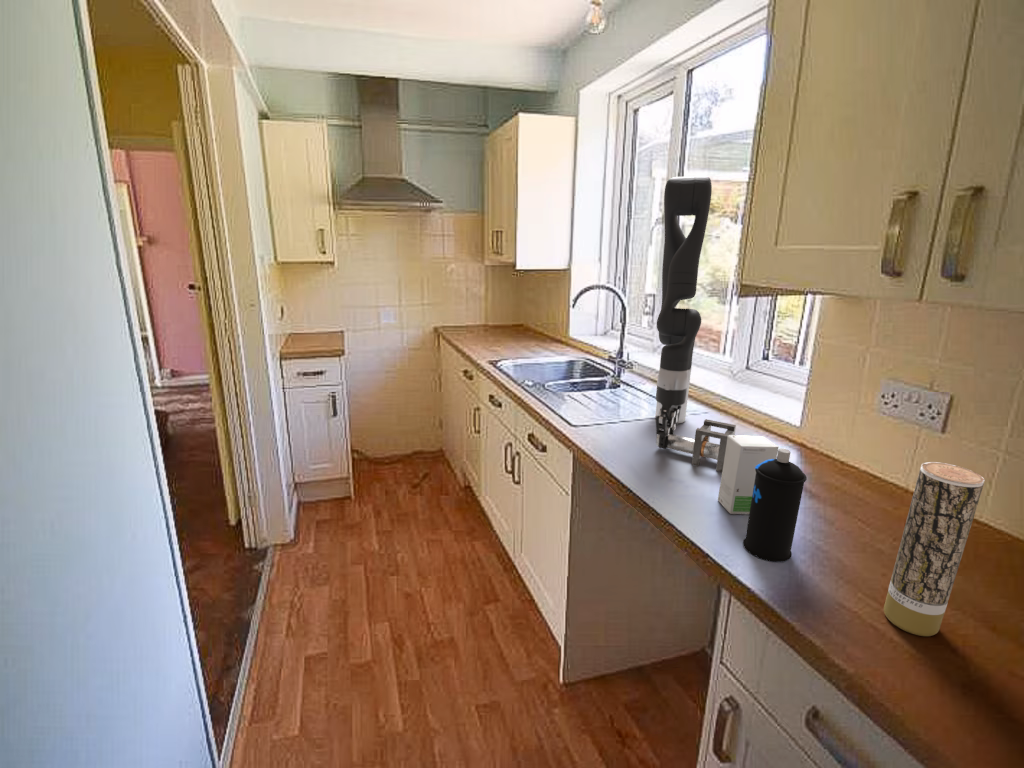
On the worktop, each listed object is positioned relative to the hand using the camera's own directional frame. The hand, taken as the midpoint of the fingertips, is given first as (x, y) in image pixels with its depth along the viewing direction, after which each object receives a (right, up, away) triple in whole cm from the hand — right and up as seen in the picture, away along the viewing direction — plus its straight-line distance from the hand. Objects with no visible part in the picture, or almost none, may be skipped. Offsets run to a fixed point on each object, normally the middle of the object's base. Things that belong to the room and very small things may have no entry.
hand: (665, 445), depth 137 cm
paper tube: (+19, -20, -60) cm, 66 cm away
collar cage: (+10, -4, -6) cm, 12 cm away
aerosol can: (+6, -15, -43) cm, 45 cm away
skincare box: (+8, -10, -28) cm, 31 cm away
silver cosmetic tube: (+5, -1, -3) cm, 6 cm away
